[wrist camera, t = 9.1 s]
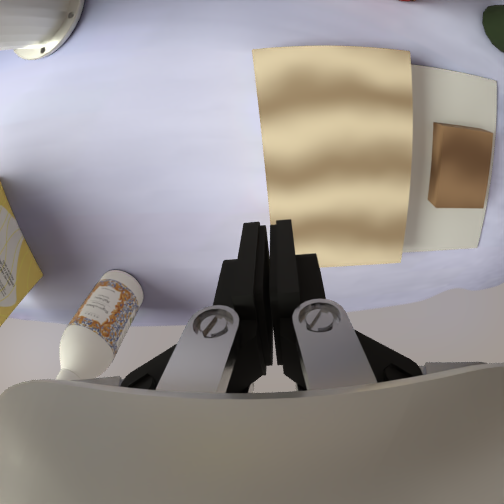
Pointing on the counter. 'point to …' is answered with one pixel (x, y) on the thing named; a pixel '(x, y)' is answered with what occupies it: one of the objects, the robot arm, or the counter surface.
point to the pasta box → (14, 262)
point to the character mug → (495, 25)
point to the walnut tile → (459, 166)
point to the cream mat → (424, 114)
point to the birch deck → (338, 148)
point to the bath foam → (99, 326)
